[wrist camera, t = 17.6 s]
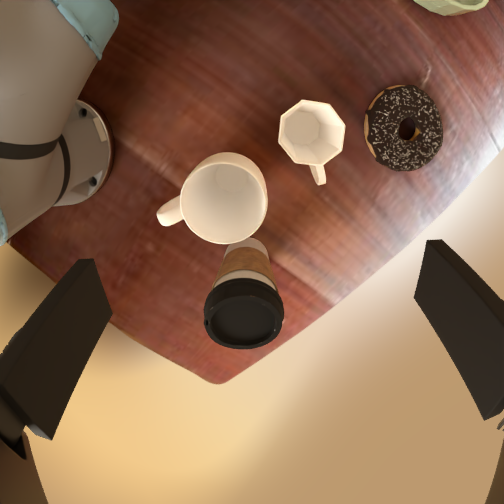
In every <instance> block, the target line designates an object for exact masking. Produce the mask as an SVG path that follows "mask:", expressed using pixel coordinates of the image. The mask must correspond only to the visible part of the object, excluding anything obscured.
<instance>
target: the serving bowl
mask: <svg viewBox="0 0 504 504" xmlns="http://www.w3.org/2000/svg"><path fill="white" fill-rule="evenodd" d="M413 1H415V2H416V3H417V4H419V5H421V6H423V7H424V8H426V9H428V10H429V11H432V12H435V13H438V14H441V15H444V16H456V15H460V14H464V13H467V12H471V11H475V10H478V9H480V8H483V7H485V6H486V4H487V2H488V1H489V0H413Z"/></svg>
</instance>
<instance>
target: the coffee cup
mask: <svg viewBox="0 0 504 504" xmlns="http://www.w3.org/2000/svg"><path fill="white" fill-rule="evenodd" d="M204 317H205V318H204V325H205V328H206V331H207V333H208V335H209V336H210V338H211V339H212V340H213V341H215V342H216V343H218V344H220V345H222V346H225V347H228V348H233V349H253V348H257V347H261V346H264V345H266V344H268V343H269V342H271V341H272V340H274V339H275V338H276V337H277V335H278V334H279V332H280V330H281V327H282V322H283V319H284V308H283V302H282V300H281V297H280V296H279V293H278V289H277V285H276V282H275V278H274V275H273V271H272V268H271V264H270V262H269V257H268V253H267V250H266V248H265V246H264V245H263V244H262V243H261V242H260V241H259V240H257V239H255V238H251V237H248V238H246V239H244V240H242V241H239V242H236V243H231V244H230V245H229V246H228V248H227V250H226V252H225V255H224V258H223V261H222V263H221V266H220V268H219V271H218V273H217V276H216V279H215V281H214V284H213V286H212V289H211V292H210V293H209V295H208V297H207V299H206V302H205V306H204Z"/></svg>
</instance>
